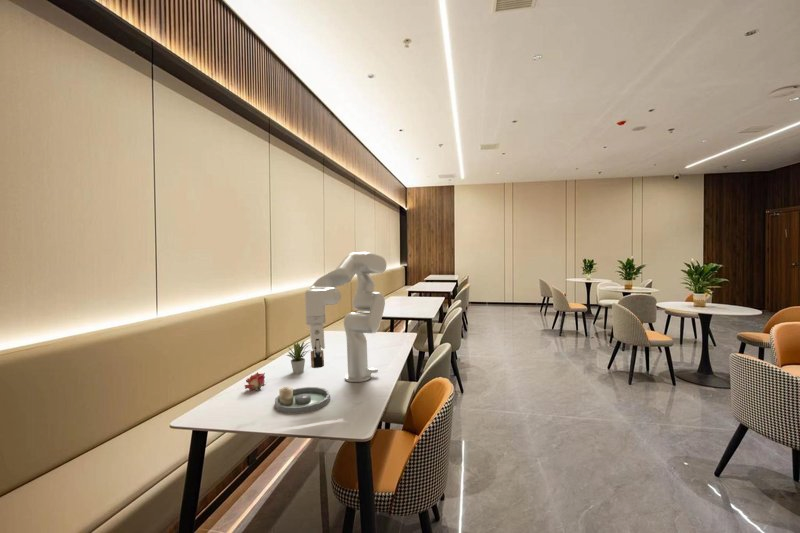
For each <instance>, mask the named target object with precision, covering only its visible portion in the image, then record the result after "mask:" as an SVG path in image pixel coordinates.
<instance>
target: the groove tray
mask: <svg viewBox="0 0 800 533" xmlns="http://www.w3.org/2000/svg"><path fill="white" fill-rule="evenodd" d="M330 401H331V394H330V390H328V389H326V388H324V387H319V386H307V387H305V386H304V387H297V388H293V404H292V405H290V406H283V405H280V395H278V396H277V397H275V400H274V408H275V409H276V410H277V411H278V412H280V413H283V414H302V413H309V412H312V411H313V412H314V411H316V410H318V409H321V408H323V407H325V406H326V405H328V404H329V402H330Z"/></svg>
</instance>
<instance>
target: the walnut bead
mask: <svg viewBox="0 0 800 533" xmlns="http://www.w3.org/2000/svg"><path fill="white" fill-rule="evenodd" d="M315 352H316V351H315ZM324 355H325V354H324V349H321V356H322V367H316V368H315V367H314V350H313V349H312V350H310V365H311V366H310V367H311V368H313V369H319V368H323V367H325V359H324V358H325V356H324Z"/></svg>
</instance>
